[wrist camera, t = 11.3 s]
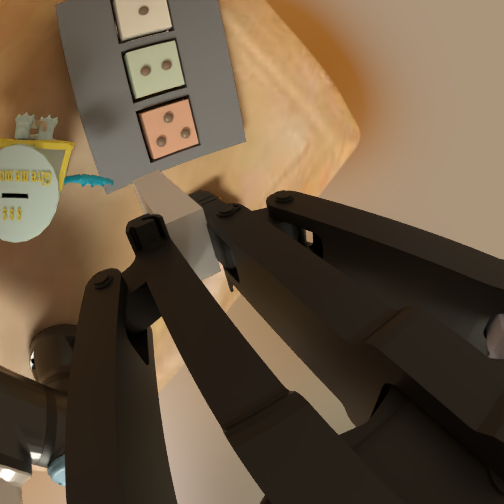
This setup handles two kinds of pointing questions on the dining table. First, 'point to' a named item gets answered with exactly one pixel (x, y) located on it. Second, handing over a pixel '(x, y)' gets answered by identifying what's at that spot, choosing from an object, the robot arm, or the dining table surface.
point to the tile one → (140, 18)
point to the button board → (123, 109)
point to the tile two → (153, 69)
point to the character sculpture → (34, 178)
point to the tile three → (168, 128)
